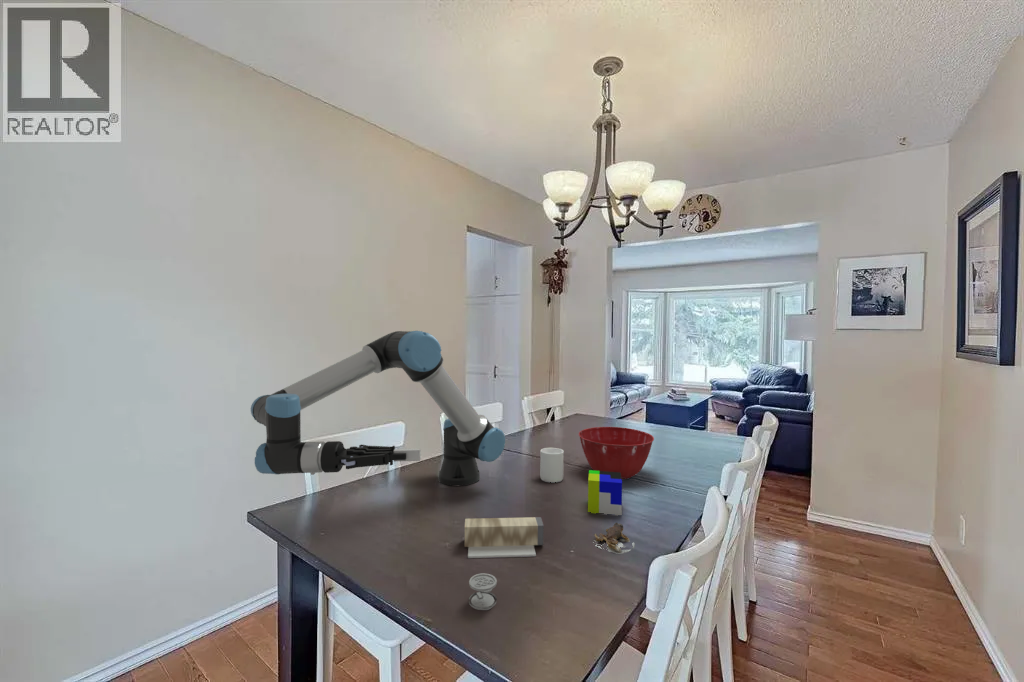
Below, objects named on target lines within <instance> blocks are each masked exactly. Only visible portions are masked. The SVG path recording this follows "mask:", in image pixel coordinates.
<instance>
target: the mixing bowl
mask: <svg viewBox="0 0 1024 682" xmlns="http://www.w3.org/2000/svg"><path fill="white" fill-rule="evenodd" d="M578 437H579V440H580V444H581V447H582V452H583V454H584V456H585V459H586V461H587V463H588V464H589V466H590V468H591V470H594V471H607V472H621V479H623V480H629V479H631V478H633V477H634V476H636V475H638V474H639V473H640V471H642V469H643V467H644V466H645V463H646V462H647V460H648V457H649V455H650V452H651V449H652V446H653V442H654V440H655V437H654V436H653V435H652V434H650V433H648V432H645V431H644V430H643V431H642V430H640V429H639V430H638V429H635V428H629V427H619V426H597V427H595V426H594V427H588V428H585V429H582V430H579V432H578ZM628 478H629V479H628Z"/></svg>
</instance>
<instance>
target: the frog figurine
mask: <svg viewBox="0 0 1024 682" xmlns="http://www.w3.org/2000/svg"><path fill="white" fill-rule="evenodd" d="M605 531H606V534H605V533H601V532H600V533H599V535H597V533H595V534H593V535H594V537H595V539H596V540H595V539H594V540H593V541H595V542H599V543H601V542H603V540H604V542H605V541H606V543H607V546H606V547H607V549H608V550H607V549H606V550H607V552H609V553H613V554H616V555H621V554H626V553H629V552H630V551H631V550H633V549H634V548H635V546H636V545H635V544H636V543H635V542H632V543H631V544H632V546H633V547H632V548H631V549H622V548H626V546H625V545H624V544H623V543H622V542H624V543H629V542H631V541H630V538H629V537H628V536H627V535H626V534H624V533H623V531H624V526H623V524H622V523H618V522H615V523H614V524H613V525H612V526H610V527H609V528H607V529H606V530H605ZM620 537H622V538H620ZM619 538H620V540H617V539H619ZM600 541H601V542H600ZM617 544H618V545H617ZM597 545H598V544H596V545H595V548H597V547H598V548H597V549H599V550H603V549H602V548H601V547H600V546H597ZM600 545H601V544H600ZM602 545H603V544H602ZM602 545H601V546H602ZM620 547H621V548H620Z"/></svg>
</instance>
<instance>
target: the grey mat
mask: <svg viewBox="0 0 1024 682" xmlns="http://www.w3.org/2000/svg"><path fill="white" fill-rule="evenodd" d="M467 549H468V550H467V559H485V558H486V559H487V558H488V559H489V558H492V559H493V558H523V557H524V558H525V557H527V558H529V557H537V554H536V549H535V545H523V546H484V547H467Z"/></svg>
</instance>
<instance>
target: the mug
mask: <svg viewBox="0 0 1024 682" xmlns="http://www.w3.org/2000/svg"><path fill="white" fill-rule="evenodd" d="M539 452H540V453H539V455H540V459H539V460H540V461H539V462H540V464H539V465H540V466H539V469H540V470H539V471H540V472H539V475H540V480H541V481H543V482H545V483H550V482H551V483H552V484H553V483H554V484H556V483H560V482H562V481H563V480H564V455H565V454H564V449H562V448H558V447H557V448H556V447H544V448H541V449H540V451H539ZM555 482H556V483H555ZM551 483H550V484H551Z"/></svg>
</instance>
